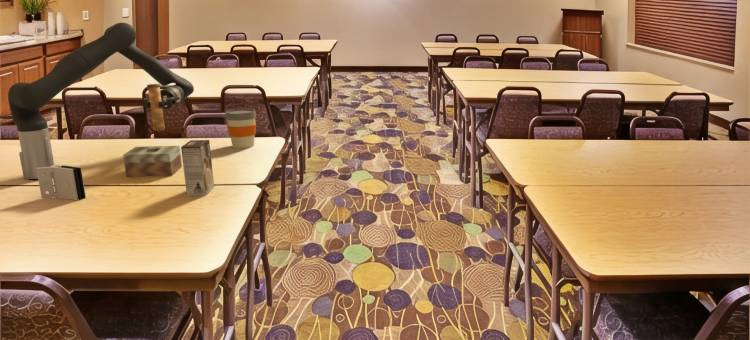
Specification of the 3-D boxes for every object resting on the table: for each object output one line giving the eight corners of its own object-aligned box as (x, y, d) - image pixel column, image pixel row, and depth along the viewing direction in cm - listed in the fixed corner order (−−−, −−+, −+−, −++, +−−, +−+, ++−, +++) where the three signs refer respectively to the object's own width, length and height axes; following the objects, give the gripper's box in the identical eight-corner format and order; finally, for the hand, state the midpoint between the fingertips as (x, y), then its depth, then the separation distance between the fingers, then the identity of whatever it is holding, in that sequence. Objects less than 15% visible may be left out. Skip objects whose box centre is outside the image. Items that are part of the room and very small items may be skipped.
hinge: (40, 199, 182) (35, 168, 179) (52, 194, 187) (47, 163, 184) (80, 200, 180) (75, 169, 177) (91, 195, 185) (86, 164, 182)
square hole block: (126, 176, 204) (123, 154, 202) (138, 167, 216) (135, 146, 213) (171, 175, 205) (169, 153, 202) (181, 166, 216) (179, 145, 214)
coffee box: (195, 187, 191) (190, 139, 187) (214, 187, 191) (210, 139, 187) (186, 196, 182) (180, 146, 178) (206, 195, 182) (201, 146, 178)
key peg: (151, 130, 213) (145, 85, 209) (155, 128, 217) (149, 84, 213) (163, 130, 213) (157, 85, 209) (167, 127, 218) (161, 83, 213)
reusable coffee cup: (262, 142, 252) (259, 108, 247) (253, 149, 240) (250, 113, 235) (233, 142, 253) (231, 108, 249) (223, 149, 241) (220, 113, 237)
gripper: (148, 88, 225) (132, 95, 209) (185, 87, 226) (171, 94, 209) (151, 107, 227) (135, 116, 211) (187, 106, 228) (174, 115, 211)
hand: (153, 105), depth 210 cm, fingers closed on key peg, 4 cm apart
